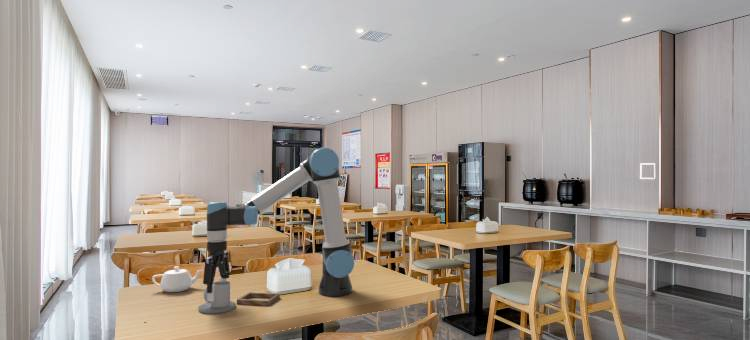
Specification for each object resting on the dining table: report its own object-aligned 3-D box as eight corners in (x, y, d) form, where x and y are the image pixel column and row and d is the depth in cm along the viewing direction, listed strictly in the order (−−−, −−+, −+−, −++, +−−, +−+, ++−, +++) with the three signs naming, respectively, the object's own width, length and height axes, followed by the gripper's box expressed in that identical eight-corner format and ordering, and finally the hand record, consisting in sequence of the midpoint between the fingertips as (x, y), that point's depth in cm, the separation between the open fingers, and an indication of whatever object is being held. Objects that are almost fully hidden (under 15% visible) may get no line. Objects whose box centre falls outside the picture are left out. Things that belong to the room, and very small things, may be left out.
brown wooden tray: (279, 298, 185) (279, 293, 185) (268, 305, 174) (268, 301, 174) (249, 296, 188) (249, 292, 188) (236, 304, 177) (236, 299, 177)
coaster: (241, 303, 177) (241, 301, 177) (223, 314, 163) (223, 312, 163) (211, 302, 180) (211, 299, 180) (190, 312, 166) (190, 310, 166)
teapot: (149, 295, 189) (149, 271, 189) (154, 288, 202) (154, 265, 202) (202, 291, 196) (202, 267, 196) (204, 284, 209) (204, 261, 209)
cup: (228, 308, 168) (228, 285, 168) (201, 309, 166) (201, 286, 167) (231, 302, 175) (231, 280, 175) (205, 303, 174) (205, 281, 174)
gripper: (222, 236, 183) (222, 290, 182) (192, 244, 162) (192, 305, 162) (238, 236, 181) (238, 290, 181) (210, 245, 161) (210, 306, 160)
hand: (217, 297), depth 171 cm, fingers open, 8 cm apart
